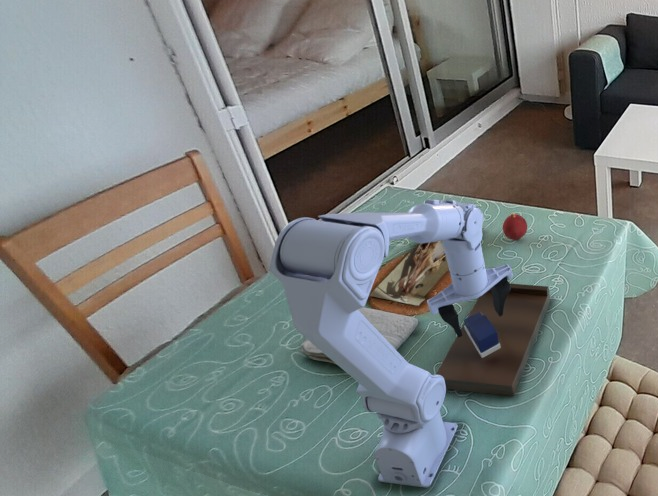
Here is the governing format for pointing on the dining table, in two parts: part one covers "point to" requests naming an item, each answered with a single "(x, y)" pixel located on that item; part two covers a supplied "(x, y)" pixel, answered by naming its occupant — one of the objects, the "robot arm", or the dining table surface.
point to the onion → (514, 227)
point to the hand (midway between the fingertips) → (479, 322)
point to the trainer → (482, 334)
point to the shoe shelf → (514, 337)
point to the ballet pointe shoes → (415, 274)
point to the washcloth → (386, 324)
